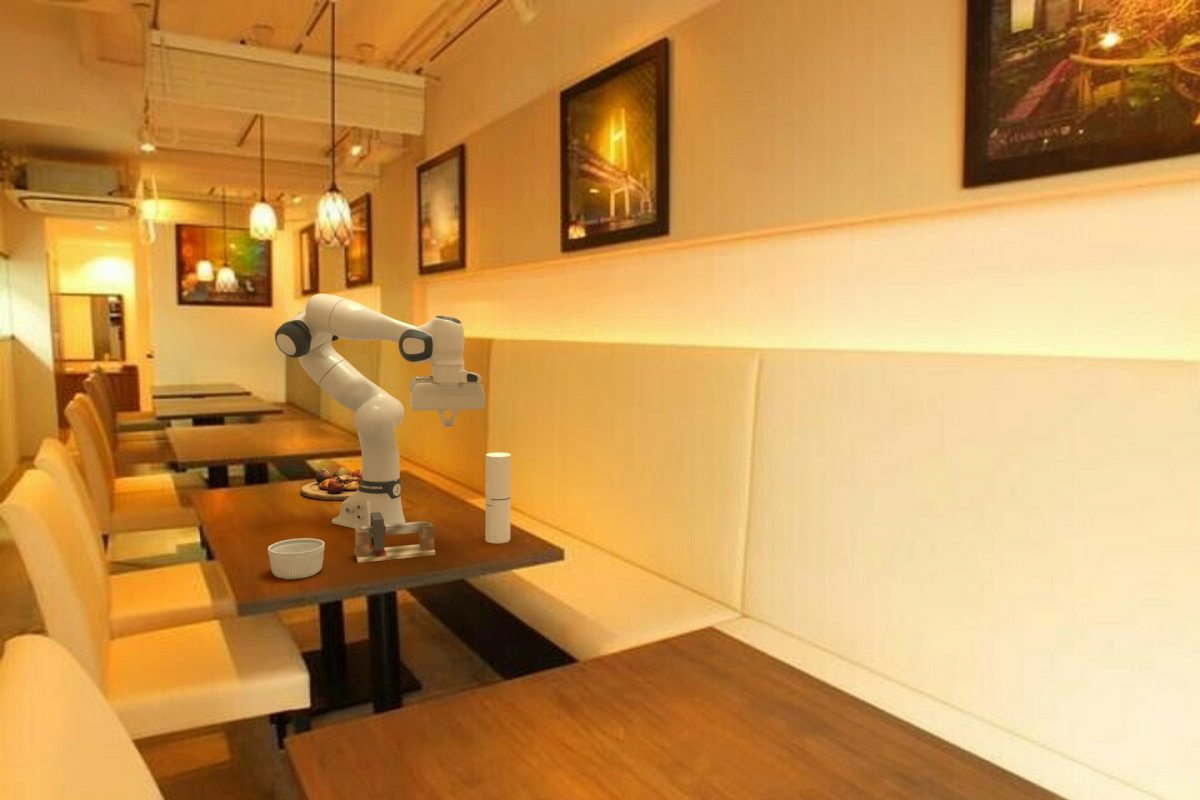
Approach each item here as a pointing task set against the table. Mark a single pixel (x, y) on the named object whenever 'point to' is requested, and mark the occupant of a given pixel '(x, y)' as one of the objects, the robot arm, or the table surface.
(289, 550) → the ramekin
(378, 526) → the collar
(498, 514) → the cylindrical container
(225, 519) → the table surface
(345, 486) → the wooden plate with food
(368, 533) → the pipe rig
